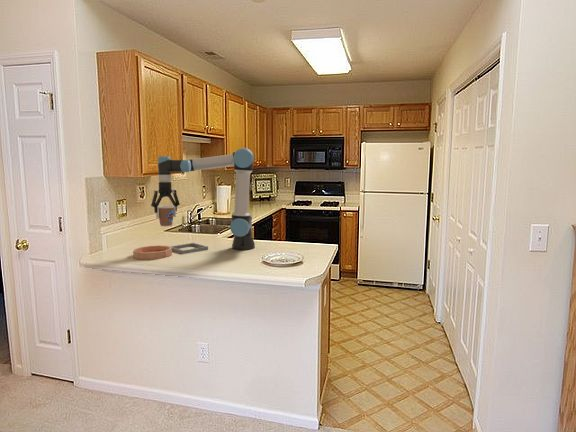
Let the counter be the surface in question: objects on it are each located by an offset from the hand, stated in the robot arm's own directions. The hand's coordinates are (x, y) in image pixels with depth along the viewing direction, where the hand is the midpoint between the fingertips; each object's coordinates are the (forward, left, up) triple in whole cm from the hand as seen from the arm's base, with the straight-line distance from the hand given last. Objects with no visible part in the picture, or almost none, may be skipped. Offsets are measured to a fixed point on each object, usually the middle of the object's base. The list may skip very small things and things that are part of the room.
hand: (166, 217), depth 247 cm
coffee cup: (0, 0, -5) cm, 5 cm away
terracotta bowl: (-1, +10, -23) cm, 25 cm away
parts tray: (-1, -14, -23) cm, 27 cm away
